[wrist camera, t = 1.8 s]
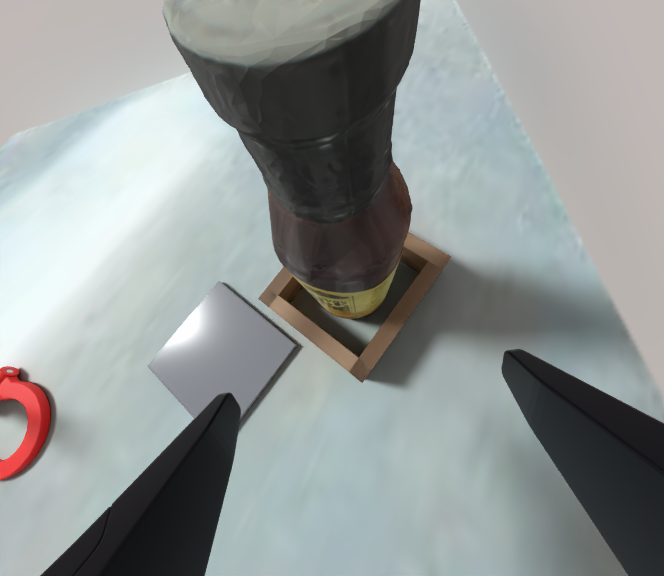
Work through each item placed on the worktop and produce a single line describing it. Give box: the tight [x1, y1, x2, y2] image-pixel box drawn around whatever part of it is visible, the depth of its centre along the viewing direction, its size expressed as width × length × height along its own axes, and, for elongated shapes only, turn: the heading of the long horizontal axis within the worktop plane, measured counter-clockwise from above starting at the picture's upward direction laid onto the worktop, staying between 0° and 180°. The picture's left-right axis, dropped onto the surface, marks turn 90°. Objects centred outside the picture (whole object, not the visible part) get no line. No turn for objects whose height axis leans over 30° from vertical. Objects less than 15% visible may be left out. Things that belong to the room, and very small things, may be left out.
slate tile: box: [147, 281, 297, 420], centre depth 23 cm, size 10×10×1 cm
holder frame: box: [258, 233, 451, 383], centre depth 21 cm, size 10×11×3 cm
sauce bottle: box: [163, 0, 420, 319], centre depth 13 cm, size 7×6×20 cm
